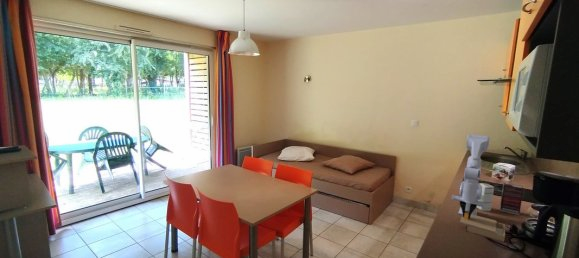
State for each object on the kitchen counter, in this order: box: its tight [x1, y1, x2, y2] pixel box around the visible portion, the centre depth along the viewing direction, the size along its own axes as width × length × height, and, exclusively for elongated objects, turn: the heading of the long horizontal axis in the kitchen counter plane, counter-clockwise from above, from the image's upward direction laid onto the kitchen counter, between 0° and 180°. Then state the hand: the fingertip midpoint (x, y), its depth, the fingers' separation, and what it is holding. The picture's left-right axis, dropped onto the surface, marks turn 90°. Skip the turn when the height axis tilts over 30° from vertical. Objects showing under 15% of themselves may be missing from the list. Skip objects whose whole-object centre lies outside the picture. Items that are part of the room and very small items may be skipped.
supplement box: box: [499, 182, 524, 216], centre depth 150 cm, size 9×5×16 cm, turn 54°
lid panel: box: [459, 211, 497, 233], centre depth 130 cm, size 14×14×4 cm
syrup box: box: [476, 182, 495, 212], centre depth 153 cm, size 6×6×14 cm
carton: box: [466, 222, 506, 243], centre depth 129 cm, size 14×14×3 cm
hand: (466, 216), depth 134 cm, fingers closed on lid panel, 2 cm apart
